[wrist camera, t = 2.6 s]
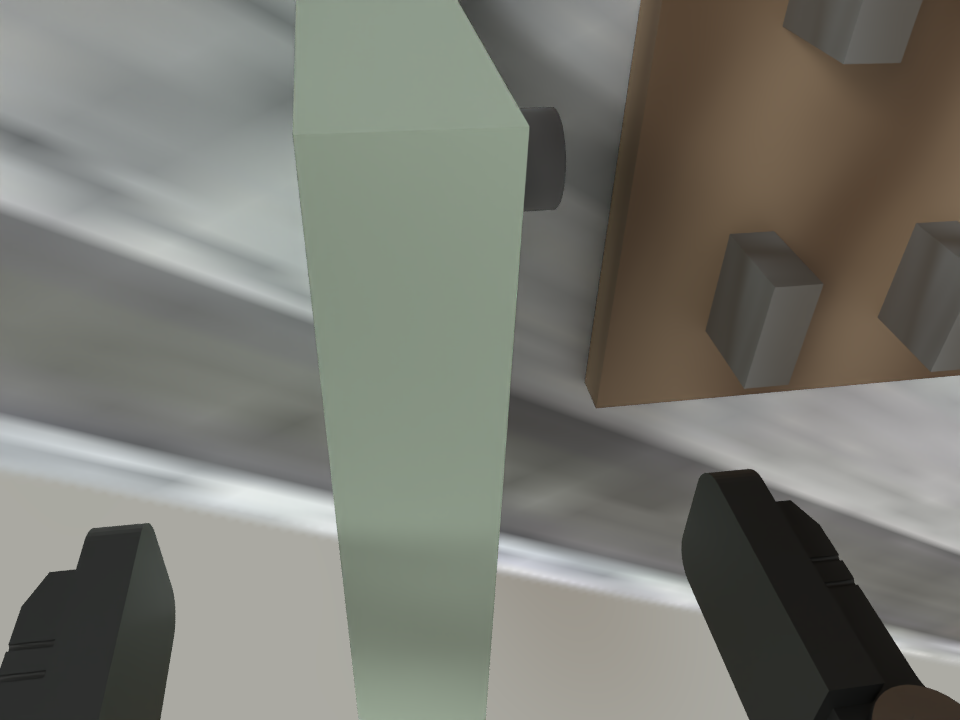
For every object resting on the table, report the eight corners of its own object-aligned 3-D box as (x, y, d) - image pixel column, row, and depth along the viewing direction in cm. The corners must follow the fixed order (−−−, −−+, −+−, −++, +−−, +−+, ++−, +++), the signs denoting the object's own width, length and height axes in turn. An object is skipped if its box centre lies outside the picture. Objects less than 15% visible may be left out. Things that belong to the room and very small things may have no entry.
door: (341, 400, 23) (361, 741, 15) (297, -67, 16) (292, 135, 8) (458, 390, 24) (535, 714, 16) (469, -66, 16) (621, 123, 8)
